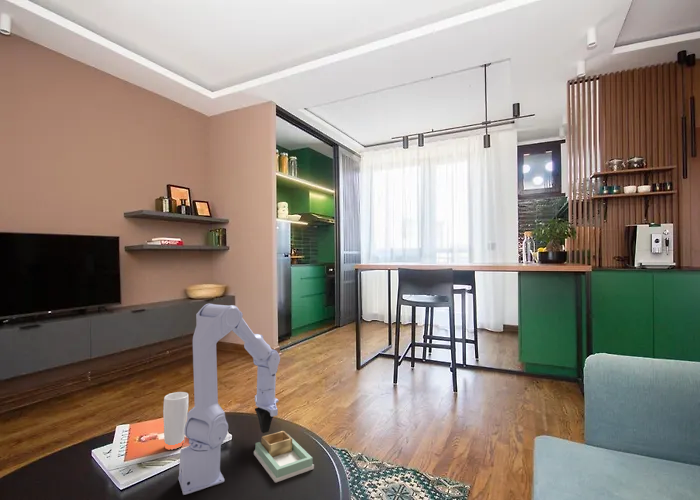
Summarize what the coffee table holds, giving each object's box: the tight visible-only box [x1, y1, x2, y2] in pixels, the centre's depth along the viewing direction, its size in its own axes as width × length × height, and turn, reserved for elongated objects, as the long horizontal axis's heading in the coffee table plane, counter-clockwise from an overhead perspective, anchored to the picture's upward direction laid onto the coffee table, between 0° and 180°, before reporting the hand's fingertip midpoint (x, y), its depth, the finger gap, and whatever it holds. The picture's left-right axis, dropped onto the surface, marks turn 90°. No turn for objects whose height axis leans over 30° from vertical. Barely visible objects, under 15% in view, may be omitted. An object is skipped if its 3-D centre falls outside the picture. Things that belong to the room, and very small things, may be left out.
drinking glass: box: [162, 391, 190, 445], centre depth 103 cm, size 7×7×15 cm
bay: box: [253, 436, 315, 483], centre depth 96 cm, size 11×16×3 cm
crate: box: [260, 430, 293, 457], centre depth 99 cm, size 7×6×4 cm
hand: (264, 431), depth 107 cm, fingers closed
